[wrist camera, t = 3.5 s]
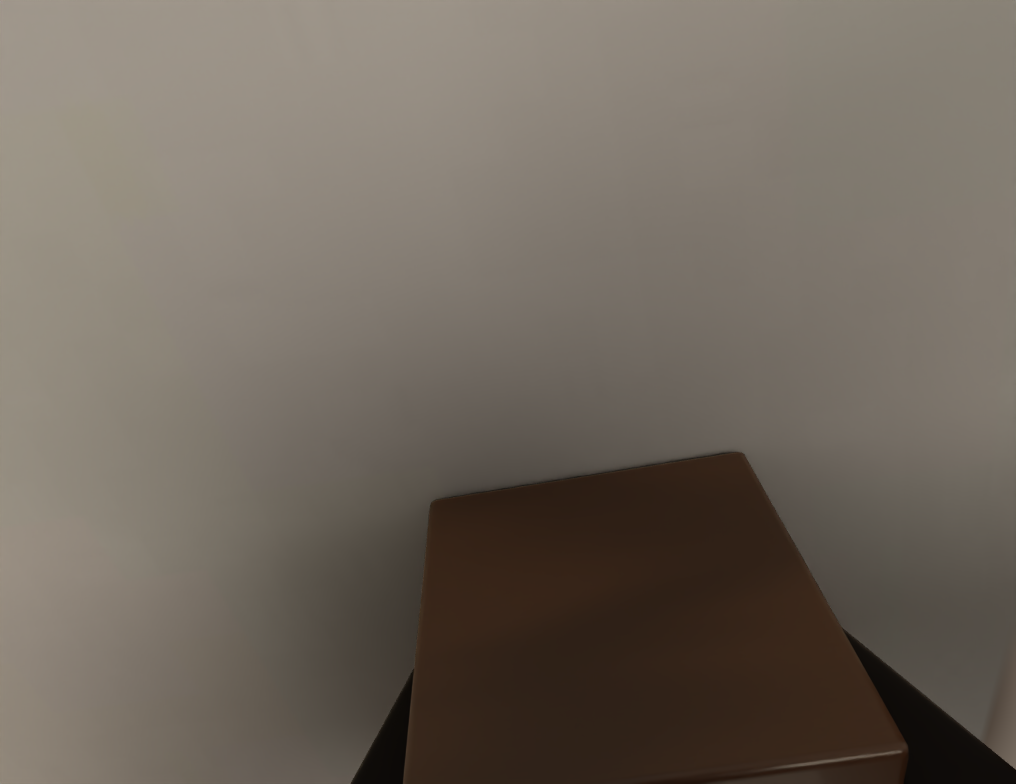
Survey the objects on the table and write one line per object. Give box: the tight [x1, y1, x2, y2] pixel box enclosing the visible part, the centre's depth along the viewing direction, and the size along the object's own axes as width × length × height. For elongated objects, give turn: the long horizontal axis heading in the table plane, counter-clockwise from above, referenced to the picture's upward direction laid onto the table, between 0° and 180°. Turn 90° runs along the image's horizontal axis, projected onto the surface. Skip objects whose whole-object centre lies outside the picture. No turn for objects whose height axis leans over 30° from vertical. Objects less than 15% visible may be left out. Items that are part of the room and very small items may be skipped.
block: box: [403, 452, 909, 784], centre depth 8 cm, size 4×4×4 cm
